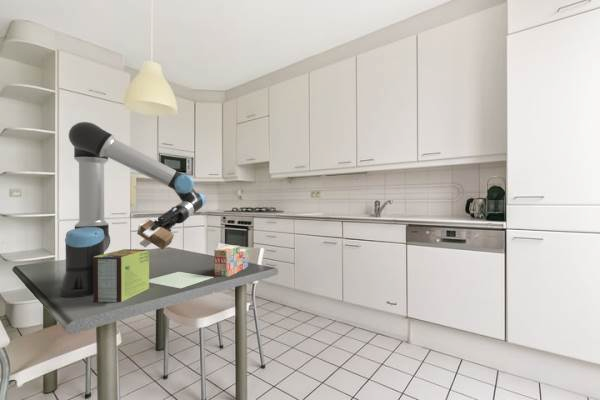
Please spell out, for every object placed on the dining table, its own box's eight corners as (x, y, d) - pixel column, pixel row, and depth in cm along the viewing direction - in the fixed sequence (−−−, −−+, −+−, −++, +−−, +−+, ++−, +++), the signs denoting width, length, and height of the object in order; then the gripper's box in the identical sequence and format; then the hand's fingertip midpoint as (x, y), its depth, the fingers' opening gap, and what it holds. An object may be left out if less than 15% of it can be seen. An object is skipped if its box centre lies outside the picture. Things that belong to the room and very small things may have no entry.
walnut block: (162, 249, 115) (136, 233, 115) (170, 242, 120) (145, 227, 120) (165, 241, 113) (139, 224, 113) (174, 234, 117) (148, 218, 117)
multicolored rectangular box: (237, 266, 152) (237, 242, 152) (248, 267, 150) (248, 243, 150) (214, 276, 131) (214, 249, 131) (226, 277, 129) (226, 249, 129)
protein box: (149, 289, 112) (149, 249, 112) (121, 303, 97) (121, 256, 97) (124, 289, 113) (124, 248, 113) (92, 302, 98) (92, 256, 98)
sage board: (142, 282, 122) (142, 281, 122) (178, 273, 138) (178, 271, 138) (180, 289, 112) (180, 288, 112) (214, 278, 128) (214, 277, 128)
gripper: (194, 202, 128) (157, 228, 107) (183, 230, 136) (147, 260, 116) (179, 193, 128) (140, 218, 107) (169, 222, 136) (131, 250, 116)
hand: (144, 240), depth 112 cm, fingers closed on walnut block, 5 cm apart
